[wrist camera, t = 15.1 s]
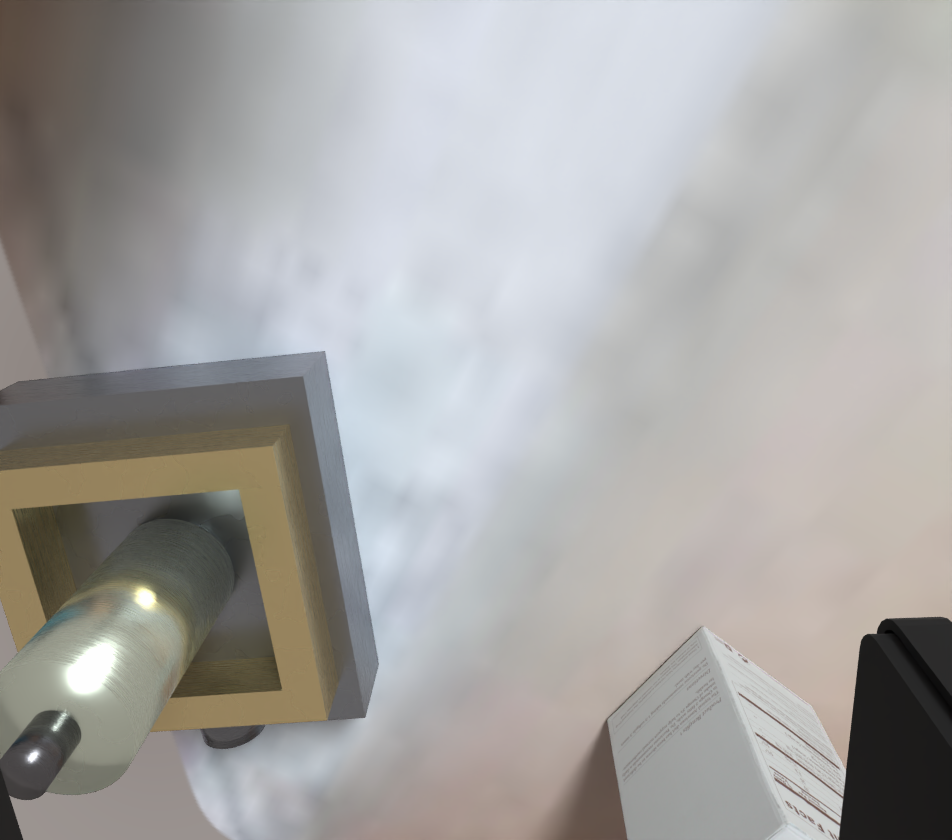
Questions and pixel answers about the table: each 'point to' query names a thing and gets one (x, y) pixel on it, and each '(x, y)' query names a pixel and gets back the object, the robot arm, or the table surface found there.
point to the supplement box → (723, 753)
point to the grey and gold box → (209, 506)
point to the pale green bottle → (110, 661)
